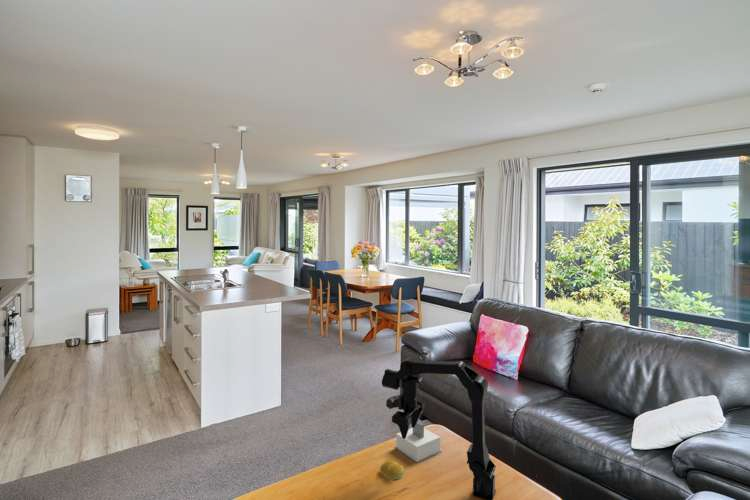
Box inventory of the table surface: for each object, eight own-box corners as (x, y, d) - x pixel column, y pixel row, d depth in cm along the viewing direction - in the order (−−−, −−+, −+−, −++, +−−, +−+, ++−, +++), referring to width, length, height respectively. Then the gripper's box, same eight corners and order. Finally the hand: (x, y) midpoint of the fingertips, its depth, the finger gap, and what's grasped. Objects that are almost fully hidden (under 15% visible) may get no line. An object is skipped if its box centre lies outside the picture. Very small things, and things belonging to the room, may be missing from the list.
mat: (442, 452, 164) (442, 451, 164) (416, 464, 156) (416, 463, 156) (418, 438, 175) (418, 437, 175) (393, 448, 167) (394, 447, 167)
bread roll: (393, 484, 144) (393, 473, 143) (376, 472, 150) (376, 462, 150) (409, 475, 149) (409, 464, 149) (392, 464, 156) (392, 454, 156)
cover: (439, 451, 164) (440, 424, 164) (417, 461, 157) (417, 433, 156) (418, 438, 174) (419, 412, 174) (396, 447, 167) (396, 420, 166)
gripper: (399, 379, 162) (398, 417, 163) (378, 396, 145) (378, 438, 146) (425, 385, 157) (425, 424, 158) (407, 403, 140) (406, 446, 141)
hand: (408, 432), depth 151 cm, fingers open, 9 cm apart
